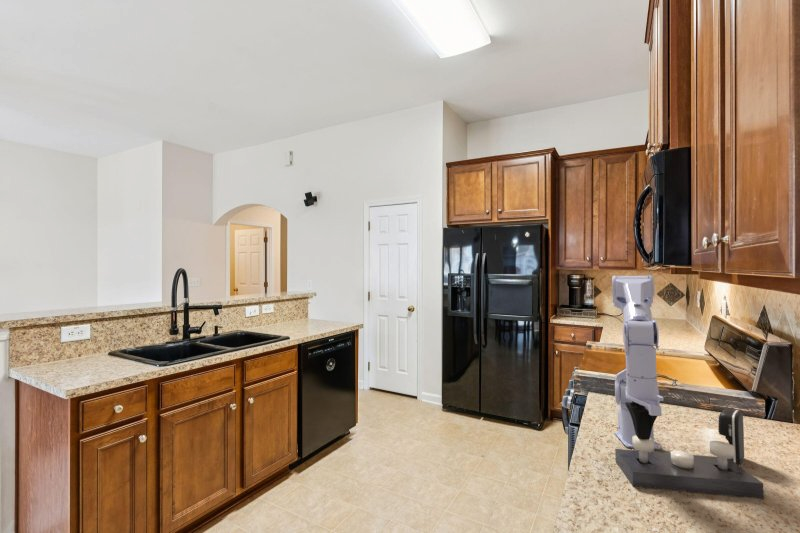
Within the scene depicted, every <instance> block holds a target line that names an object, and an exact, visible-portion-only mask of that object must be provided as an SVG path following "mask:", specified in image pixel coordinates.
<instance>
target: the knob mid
mask: <svg viewBox="0 0 800 533" xmlns="http://www.w3.org/2000/svg"><path fill="white" fill-rule="evenodd" d="M670 453H671V463H672V464H674V465H676V466H678V467H682V468H693V467H694V456H693V455H694V454H692V453H689V452H688V451H683V450H679V449H678V450H674V449H673V450H671V451H670Z"/></svg>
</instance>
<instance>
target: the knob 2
mask: <svg viewBox="0 0 800 533" xmlns="http://www.w3.org/2000/svg"><path fill="white" fill-rule="evenodd" d="M709 453H710V454H711V455H713V456H714V457H717V460H718V468H719V469H722V470H728V467H727V459H733V458H735V452H734V446H733V445H731V444H729V442H725V441H719V440H710V441H709Z"/></svg>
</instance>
